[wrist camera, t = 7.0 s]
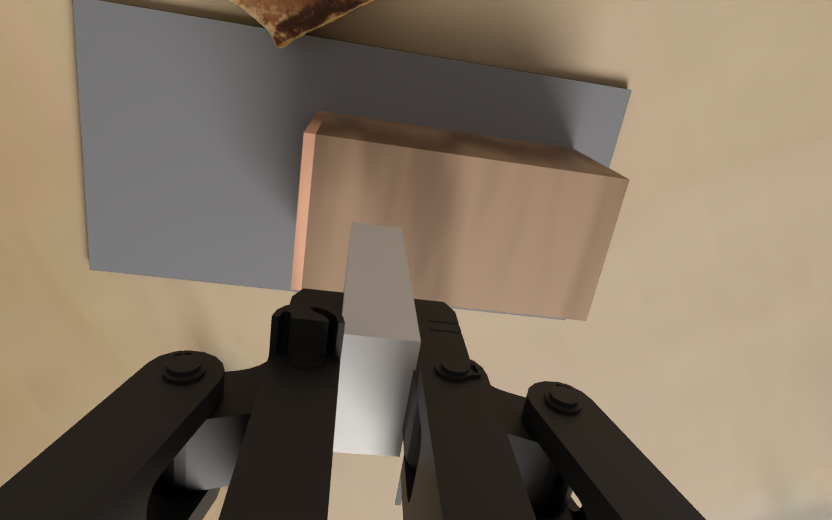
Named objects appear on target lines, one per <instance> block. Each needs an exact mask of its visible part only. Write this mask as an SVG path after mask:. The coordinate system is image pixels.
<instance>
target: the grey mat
mask: <svg viewBox="0 0 832 520" xmlns="http://www.w3.org/2000/svg"><path fill="white" fill-rule="evenodd" d="M73 13H74V28H75V44H76V60H77V76H78V92H79V107H80V123H81V139H82V155H83V170H84V186H85V202H86V218H87V234H88V249H89V265H90V270H97V271H106V272H116V273H125V274H135V275H144V276H153V277H163V278H172V279H182V280H191V281H201V282H210V283H219V284H229V285H238V286H248V287H257V288H267V289H276V290H285V291H295V292H299V291H300V290H291V280H292V268H293V256H294V244H295V232H296V220H297V208H298V195H299V183H300V171H301V159H302V147H303V135H304V131H305V130H306V128H307V127H308V125H309V124H310V122H311V120H312V119H313V117H314V116H315V114H316V113H317V111H318V110H320V111H326V112H333V113H339V114H346V115H353V116H359V117H366V118H373V119H379V120H386V121H393V122H399V123H406V124H413V125H419V126H426V127H432V128H439V129H446V130H452V131H459V132H466V133H472V134H479V135H486V136H492V137H499V138H506V139H512V140H519V141H525V142H532V143H539V144H545V145H552V146H559V147H565V148H572V149H575V150H577V151H579V152H580V153H582V154H584V155H586V156H588V157H590V158H591V159H593V160H595V161H597V162H599V163H600V164H602V165H604V166H606V167H608V168H609V166H610V163H611V160H612V156H613V153H614V149H615V146H616V142H617V139H618V135H619V132H620V129H621V125H622V122H623V118H624V115H625V111H626V108H627V104H628V101H629V97H630V94H631V91H632V90H629V89H624V88H618V87H612V86H606V85H600V84H594V83H588V82H582V81H576V80H570V79H564V78H558V77H552V76H547V75H541V74H535V73H529V72H523V71H517V70H511V69H505V68H499V67H493V66H487V65H481V64H475V63H469V62H463V61H457V60H451V59H445V58H439V57H434V56H428V55H422V54H416V53H410V52H404V51H398V50H392V49H386V48H380V47H374V46H368V45H362V44H356V43H350V42H344V41H338V40H332V39H327V38H321V37H315V36H309V35H304V36H302V37H300V38H297V39H295V40H294V41H292V42H291V43H290V44H289V45H287V46H285V47H284V48H278V47H277V46H276V45H275V43H274V41H273V39H272V37H271V35H270V33H269V32H268V30H267V29H266V28H261V27H255V26H249V25H243V24H237V23H231V22H225V21H220V20H214V19H208V18H202V17H196V16H190V15H184V14H178V13H172V12H166V11H160V10H154V9H148V8H142V7H136V6H130V5H124V4H118V3H112V2H107V1H101V0H73ZM449 307H450V306H449ZM450 308H455V309H465V310H474V311H483V312H493V313H502V314H512V315H521V316H531V317H540V318H550V319H559V320H565V319H563V318H553V317H544V316H535V315H525V314H516V313H506V312H497V311H488V310H478V309H469V308H459V307H450Z"/></svg>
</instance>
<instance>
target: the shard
mask: <svg viewBox="0 0 832 520" xmlns="http://www.w3.org/2000/svg"><path fill="white" fill-rule="evenodd" d="M229 1H231V2H233V3H234V4H236V5H238V6H240V7H241V8H243V9H244V10H245V11H246V12H247V13H248V14H249V15H251V16H252V17H253V18H255V19H256V20H257V21H258V22H259V23H260V24H261V25H262V26H264V27H265V28H266V29H267V30H268V32H269V33H270V35H271V37H272V39H273V41H274V43H275V45H276V46H277V47H278V48H284V47H285V46H287V45H289V44H290V43H291V42H292V41H294V40H295V39H297V38H300V37H302V36H304V35H305V34H306V33H308V32H311V31H313V30H314V29H317V28H320V27H322V26H324V25H326V24H327V23H331V22H333V21H335V20H336V19H338V18H340V17H342V16H344V15H346V14H347V13H348V12H350V11H352V10H354V9H356V8H358V7H360V6H364V5H366V4H368V3H370V2H372V1H374V0H229Z"/></svg>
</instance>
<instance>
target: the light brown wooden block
mask: <svg viewBox="0 0 832 520" xmlns="http://www.w3.org/2000/svg"><path fill="white" fill-rule="evenodd" d="M628 182H629V179H627V178H626V177H624V176H622V175H620V174H618V173H617V172H615V171H613V170H611V169H609V168H608V167H606V166H604V165H602V164H600V163H599V162H597V161H595V160H593V159H591V158H590V157H588V156H586V155H584V154H582V153H580V152H579V151H577V150H575V149H572V148H565V147H559V146H552V145H545V144H539V143H532V142H525V141H519V140H512V139H506V138H499V137H492V136H486V135H479V134H472V133H466V132H459V131H452V130H446V129H439V128H432V127H426V126H419V125H413V124H406V123H399V122H393V121H386V120H379V119H373V118H366V117H359V116H353V115H346V114H339V113H333V112H326V111H320V110H318V111H317V113H316V114H315V116H314V117H313V119H312V120H311V122H310V124H309V125H308V127H307V128H306V130H305V131H304V135H303V147H302V159H301V171H300V183H299V195H298V208H297V220H296V232H295V244H294V256H293V268H292V280H291V290H302V289H303V288H306V289H316V290H325V291H334V292H343V288H344V279H345V271H346V263H347V254H348V246H349V238H350V230H351V222H358V223H366V224H374V225H382V226H390V227H398V228H402V232H403V238H404V244H405V250H406V256H407V262H408V268H409V274H410V280H411V286H412V292H413V298H414V299H422V300H431V301H440V302H445V303H446V304H447V305H448V306H450V307H459V308H469V309H478V310H488V311H497V312H506V313H516V314H525V315H535V316H544V317H553V318H563V319H572V320H582V321H586V320H587V316H588V313H589V310H590V307H591V303H592V300H593V297H594V293H595V290H596V287H597V284H598V280H599V277H600V274H601V271H602V267H603V264H604V261H605V258H606V254H607V251H608V248H609V244H610V241H611V238H612V235H613V231H614V228H615V225H616V222H617V218H618V215H619V212H620V209H621V205H622V202H623V199H624V195H625V192H626V189H627V186H628Z"/></svg>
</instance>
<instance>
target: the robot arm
mask: <svg viewBox="0 0 832 520" xmlns="http://www.w3.org/2000/svg"><path fill="white" fill-rule="evenodd" d="M458 324H459V323H458V320H457V317H456V313H455V312H454V311H453V310H452V309H451V308H450V307H449V306H448V305H447V304H446V303H445V302H440V301H431V300H422V299H414V298H413V292H412V286H411V280H410V274H409V268H408V262H407V256H406V250H405V244H404V238H403V232H402V228H398V227H390V226H382V225H374V224H366V223H358V222H351V230H350V238H349V246H348V254H347V263H346V271H345V279H344V288H343V292H334V291H325V290H316V289H306V288H303V289H302V290H300V291H299V292H298V293H296V294H295V295H294V296H292V299H291V302H290V305H286V306H284V307H282V308H280V309H277V310H276V311H275V313H274V314H273V315H272V321H271V335H270V350H269V357H268V360H267V362H265V363H263V364H261V365H259V366H256V367H253V368H250V369H245V370H239V371H229V372H225V371H224V366H223V363H222V362H221V361H220V360H219V359H218V358H216V357H215V356H213V355H210V354H207V353H205V352H198V351H176V352H171V353H168V354H165V355H161V356H159V357H157V358H155V359H153V360H152V361H150V362H148V363H147V364H146V365H145V366H143V367H142V368H141V369H140V370H139V371H138V372H136V373H135V374H134V375H133V376H132V377H130V378H129V379H128V380H127V381H126V382H125V383H123V384H122V385H121V386H120V387H119V388H117V389H116V390H115V391H114V392H113V393H112V394H110V395H109V396H108V397H107V398H106V399H104V400H103V401H102V402H101V403H100V404H99V405H97V406H96V407H95V408H94V409H93V410H91V411H90V412H89V413H88V414H87V415H86V416H84V417H83V418H82V419H81V420H80V421H78V422H77V423H76V424H75V425H74V426H73V427H71V428H70V429H69V430H68V431H67V432H65V433H64V434H63V435H62V436H61V437H59V438H58V439H57V440H56V441H55V442H54V443H52V444H51V445H50V446H49V447H48V448H46V449H45V450H44V451H43V452H42V453H41V454H39V455H38V456H37V457H36V458H35V459H33V460H32V461H31V462H30V463H29V464H28V465H26V466H25V467H24V468H23V469H22V470H20V471H19V472H18V473H17V474H16V475H15V476H13V477H12V478H11V479H10V480H9V481H7V482H6V483H5V484H4V485H3V486H2V487H0V520H202V519H203V518H204V516H205V515H206V513H207V512H208V510H209V509H210V507H211V506H212V504H213V503H214V501H215V500H216V498H217V496H218V493H219V490H220V487H224V486H229V487H228V491H227V494H226V497H225V500H224V504H223V507H222V510H221V513H220V517H219V520H327V516H328V504H329V492H330V480H331V468H332V456H333V452H340V453H355V454H369V455H383V456H398V457H400V452H401V447H402V441H403V443H404V459H403V464H402V469H401V475H400V480H399V485H398V490H397V496H396V501H395V505H401V500H402V506H403V520H706V519H705V518H704V517H703V516H702V515H701V514H700V513H699V512H698V511H697V510H696V509H695V508H694V507H693V506H692V505H691V503H690V502H689V501H688V500H687V499H686V498H685V497H684V496H683V495H682V494H681V493H680V492H679V491H678V490H677V489H676V488H675V487H674V486H673V485H672V483H671V482H670V481H669V480H668V479H667V478H666V477H665V476H664V475H663V474H662V473H661V472H660V471H659V470H658V469H657V468H656V467H655V466H654V465H653V464H652V462H651V461H650V460H649V459H648V458H647V457H646V456H645V455H644V454H643V453H642V452H641V451H640V450H639V449H638V448H637V447H636V446H635V445H634V444H633V442H632V441H631V440H630V439H629V438H628V437H627V436H626V435H625V434H624V433H623V432H622V431H621V430H620V429H619V428H618V427H617V426H616V425H615V424H614V422H613V421H612V420H611V419H610V418H609V417H608V416H607V415H606V414H605V413H604V412H603V411H602V410H601V409H600V408H599V407H598V406H597V405H596V404H595V402H594V401H593V400H592V399H590V398H589V397H588V396H587V395H585V394H584V393H583V392H581V391H579V390H577V389H575V388H573V387H572V386H570V385H567V384H562V383H560V382H548V381H543V382H539V383H535V384H533V385H532V386H531V387H530V388H529V389H528V393H527V396H526V398H525V397H522V396H518V395H515V394H511V393H508V392H505V391H502V390H499V389H497V388H495V387H493V386H491V385H490V382H489V379H488V376H487V374H486V373H485V371H484V369H483V368H482V367H481V366H480V365H478V364H477V363H476V362H474V361H473V360H470V359H469V355H468V352H467V349H466V346H465V342H464V339H463V336H462V334H461V329H460V326H459V325H458ZM572 491H573V492H574V493H575V494H576V496H577V497H578V499H579V500H580V502H581V504H582V507H581V508H579V507H578V506H577V505H576V503H575V502H574V500H573V499H572V498H571V494H572Z"/></svg>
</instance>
